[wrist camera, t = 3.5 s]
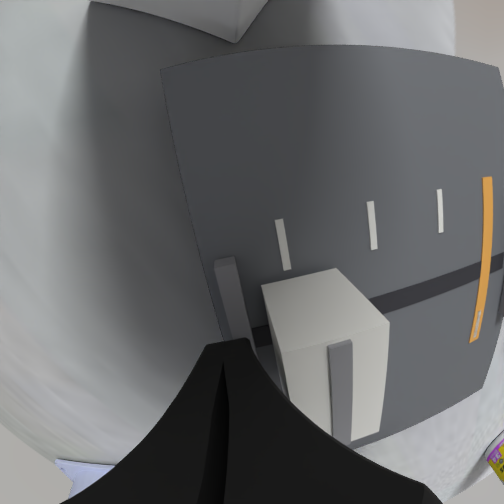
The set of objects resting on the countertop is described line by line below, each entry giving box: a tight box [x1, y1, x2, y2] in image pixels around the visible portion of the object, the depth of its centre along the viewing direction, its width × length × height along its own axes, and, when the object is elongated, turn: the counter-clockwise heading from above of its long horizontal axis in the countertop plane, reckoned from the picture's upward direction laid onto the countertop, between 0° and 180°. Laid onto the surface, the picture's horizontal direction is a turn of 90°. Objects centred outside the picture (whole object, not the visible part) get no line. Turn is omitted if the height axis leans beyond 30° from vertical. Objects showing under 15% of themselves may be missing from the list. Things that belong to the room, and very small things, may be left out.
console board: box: [160, 45, 504, 450], centre depth 11 cm, size 18×14×3 cm
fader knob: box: [261, 268, 390, 445], centre depth 8 cm, size 4×2×4 cm, turn 11°
